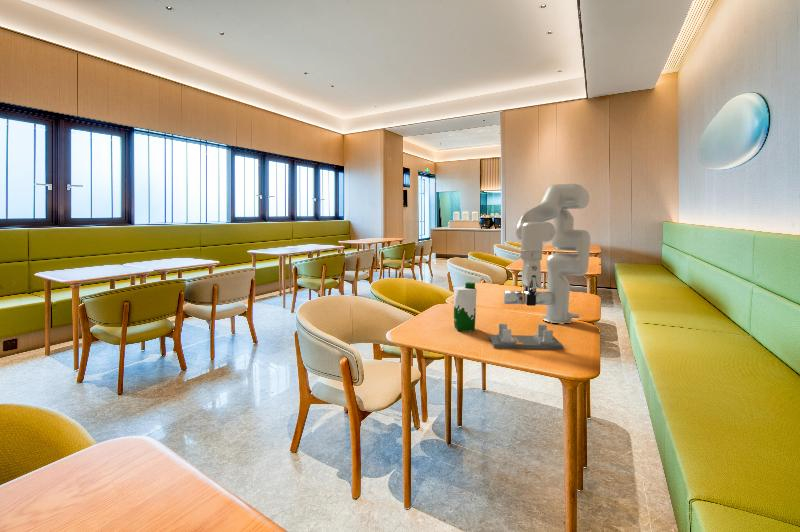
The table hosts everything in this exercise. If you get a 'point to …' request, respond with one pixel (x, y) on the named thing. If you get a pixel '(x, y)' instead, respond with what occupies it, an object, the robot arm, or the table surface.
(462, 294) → the milk carton
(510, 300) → the banded metal cylinder
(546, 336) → the cylinder mounting fixture
